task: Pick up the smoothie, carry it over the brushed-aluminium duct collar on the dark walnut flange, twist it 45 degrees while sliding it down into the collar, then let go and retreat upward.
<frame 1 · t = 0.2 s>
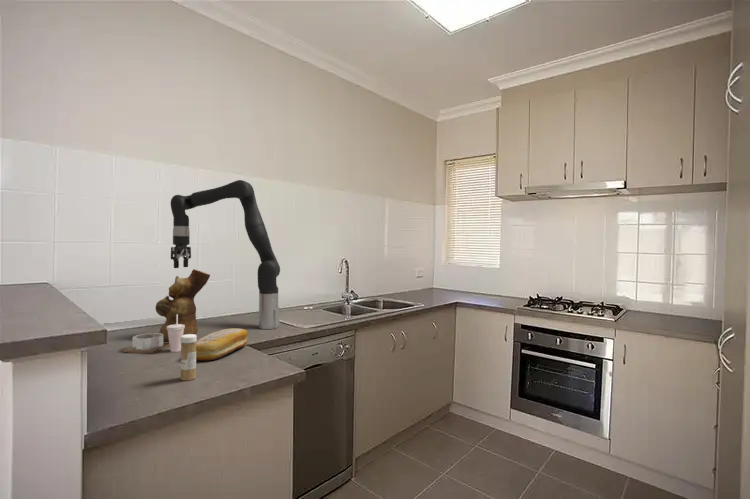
hand: (181, 267, 195), 29 cm above the countertop, fingers open, 8 cm apart
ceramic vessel: (183, 337, 172), on the countertop
smoothie: (175, 351, 151), on the countertop
duct collar: (148, 348, 153), on the countertop
sprinkles bottle: (188, 379, 120), on the countertop
bread: (220, 353, 150), on the countertop
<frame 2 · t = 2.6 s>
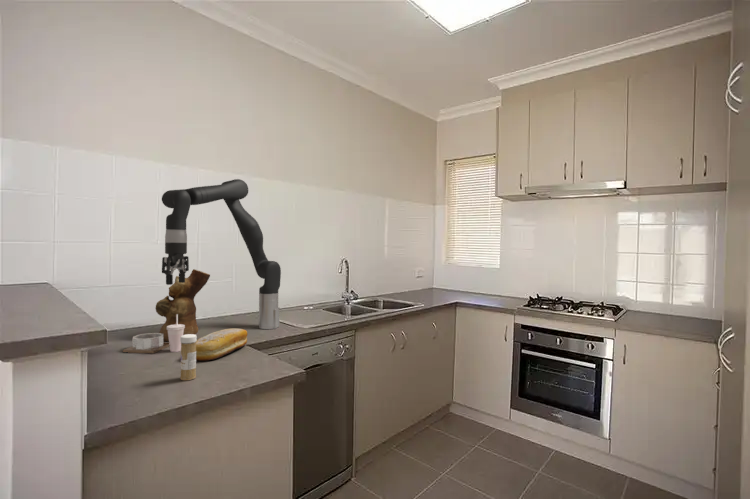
hand: (175, 283, 150), 26 cm above the countertop, fingers open, 8 cm apart
nothing on the countertop moved.
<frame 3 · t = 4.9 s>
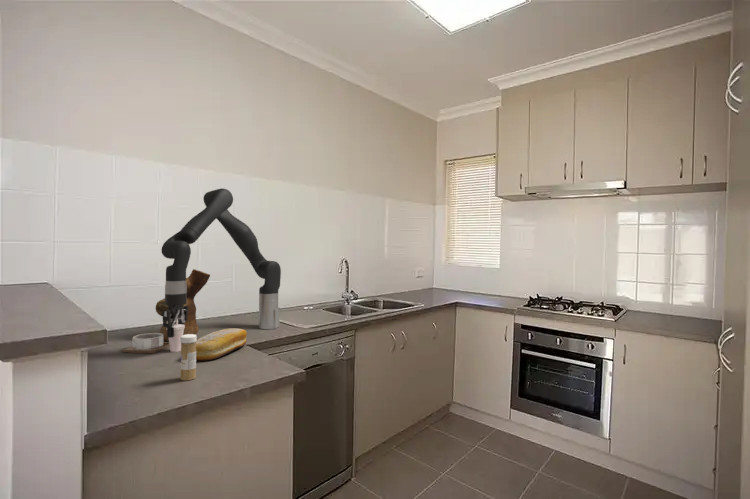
hand: (175, 335, 150), 6 cm above the countertop, fingers closed on smoothie, 6 cm apart
smoothie: (175, 351, 151), on the countertop, touching gripper
everything else where it was.
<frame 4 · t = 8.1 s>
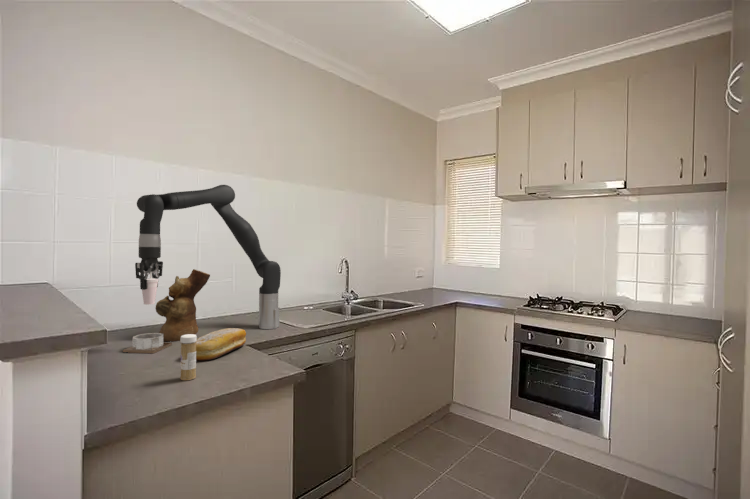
hand: (149, 288, 152), 24 cm above the countertop, fingers closed on smoothie, 6 cm apart
smoothie: (149, 304, 152), point 18 cm above the countertop, touching gripper
everything else where it was.
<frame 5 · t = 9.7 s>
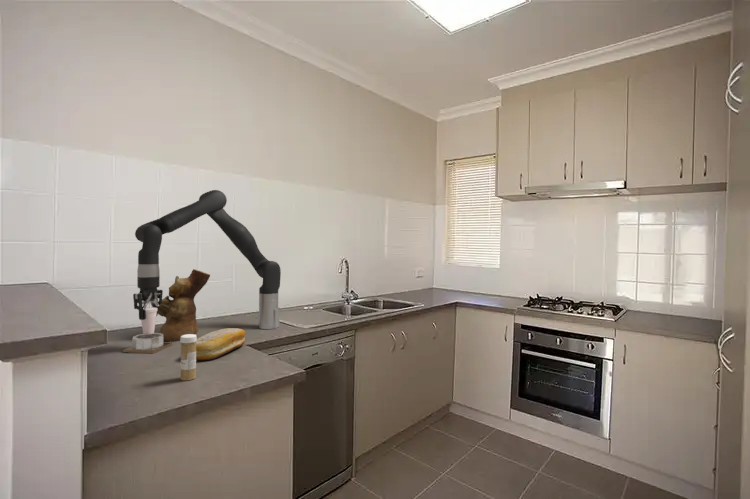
hand: (148, 317, 153), 12 cm above the countertop, fingers closed on smoothie, 6 cm apart
smoothie: (148, 333, 153), point 6 cm above the countertop, touching gripper
when the fingers open (8 cm above the countertop, at t = 11.1 s): smoothie stays where it is, resting on duct collar.
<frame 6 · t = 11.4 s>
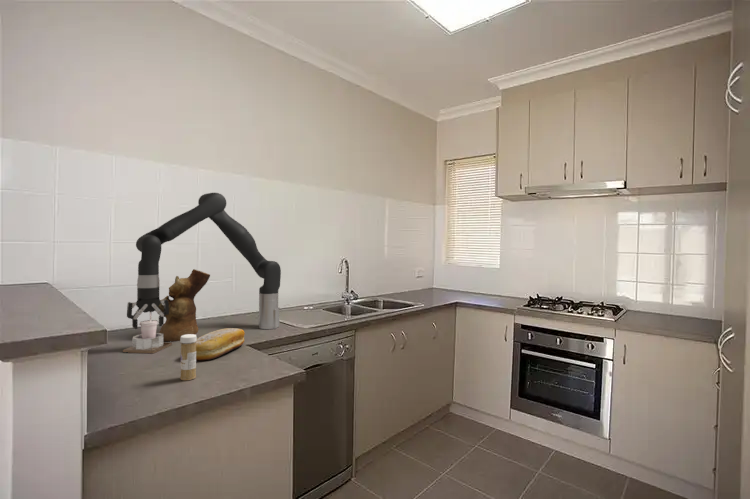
hand: (148, 327, 153), 8 cm above the countertop, fingers open, 8 cm apart
smoothie: (148, 346, 153), point 1 cm above the countertop, touching duct collar
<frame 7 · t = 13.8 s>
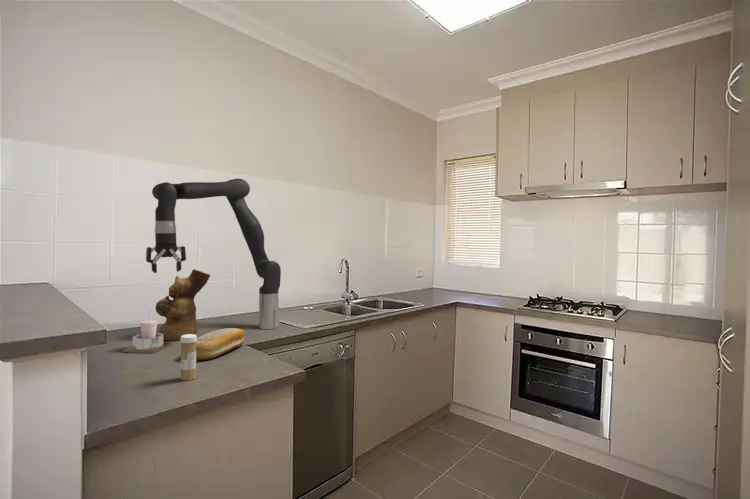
hand: (166, 272, 158), 30 cm above the countertop, fingers open, 8 cm apart
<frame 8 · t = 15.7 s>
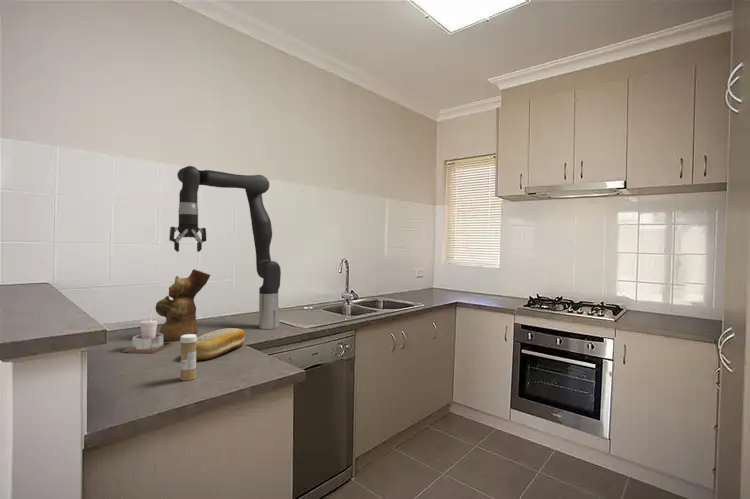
hand: (188, 251, 166), 38 cm above the countertop, fingers open, 8 cm apart
at the end: smoothie 0.1 cm off-centre on the duct collar, point 0.8 cm above the duct collar's base; smoothie tilted 0°; the gripper is holding nothing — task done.
